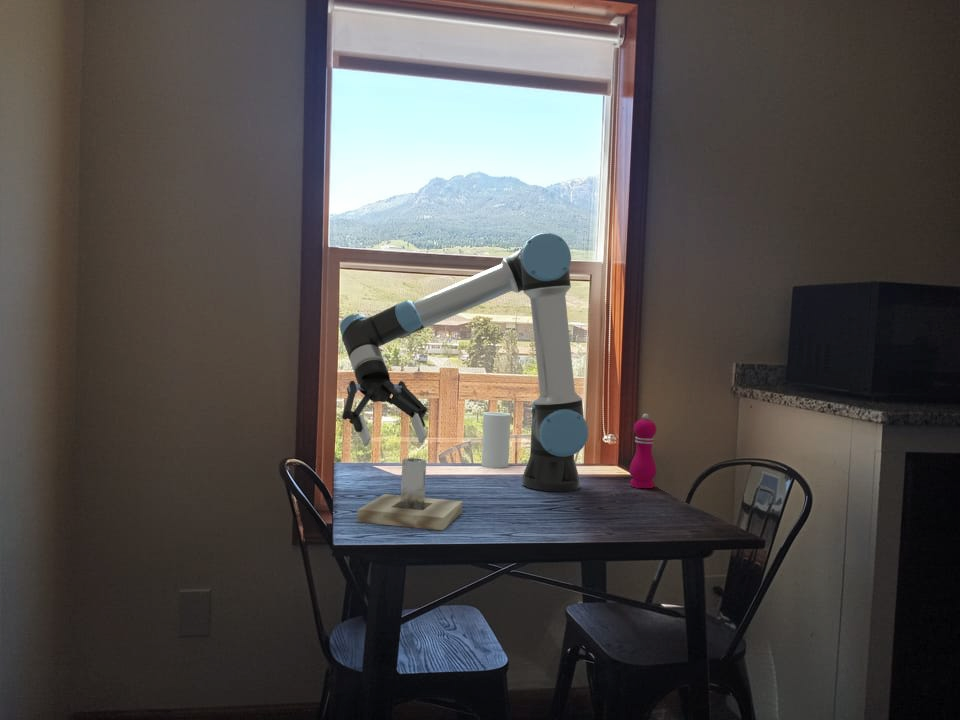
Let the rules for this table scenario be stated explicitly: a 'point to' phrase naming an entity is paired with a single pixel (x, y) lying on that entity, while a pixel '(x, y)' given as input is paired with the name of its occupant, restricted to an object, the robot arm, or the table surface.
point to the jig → (410, 513)
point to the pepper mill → (643, 454)
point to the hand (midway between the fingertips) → (396, 441)
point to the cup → (496, 439)
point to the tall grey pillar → (413, 483)
